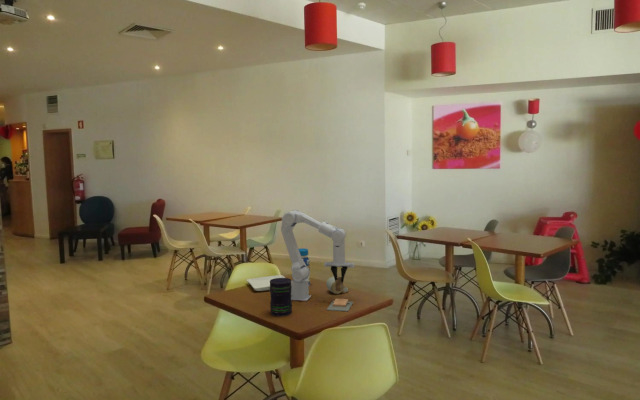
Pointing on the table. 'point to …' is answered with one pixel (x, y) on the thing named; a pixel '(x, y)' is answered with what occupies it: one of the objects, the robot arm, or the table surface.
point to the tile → (340, 303)
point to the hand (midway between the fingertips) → (339, 281)
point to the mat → (340, 307)
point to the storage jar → (280, 296)
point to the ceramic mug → (332, 286)
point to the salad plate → (262, 282)
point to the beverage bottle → (305, 260)
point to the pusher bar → (338, 284)
